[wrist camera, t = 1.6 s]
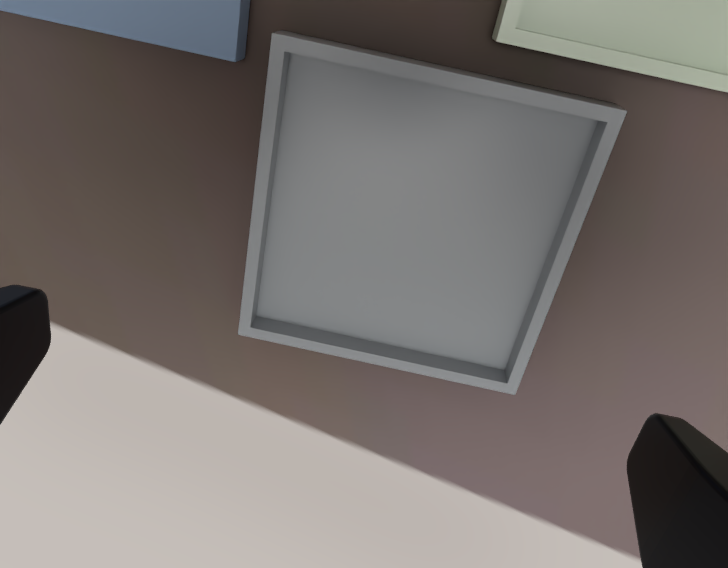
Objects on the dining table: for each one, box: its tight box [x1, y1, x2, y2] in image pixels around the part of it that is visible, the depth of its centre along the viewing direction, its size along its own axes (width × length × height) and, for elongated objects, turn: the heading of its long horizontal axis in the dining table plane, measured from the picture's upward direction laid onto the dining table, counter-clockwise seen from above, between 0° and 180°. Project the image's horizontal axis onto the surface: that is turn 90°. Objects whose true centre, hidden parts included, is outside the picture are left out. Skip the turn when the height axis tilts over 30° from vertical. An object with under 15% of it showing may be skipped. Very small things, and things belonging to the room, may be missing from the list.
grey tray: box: [238, 30, 627, 395], centre depth 19 cm, size 10×10×1 cm
